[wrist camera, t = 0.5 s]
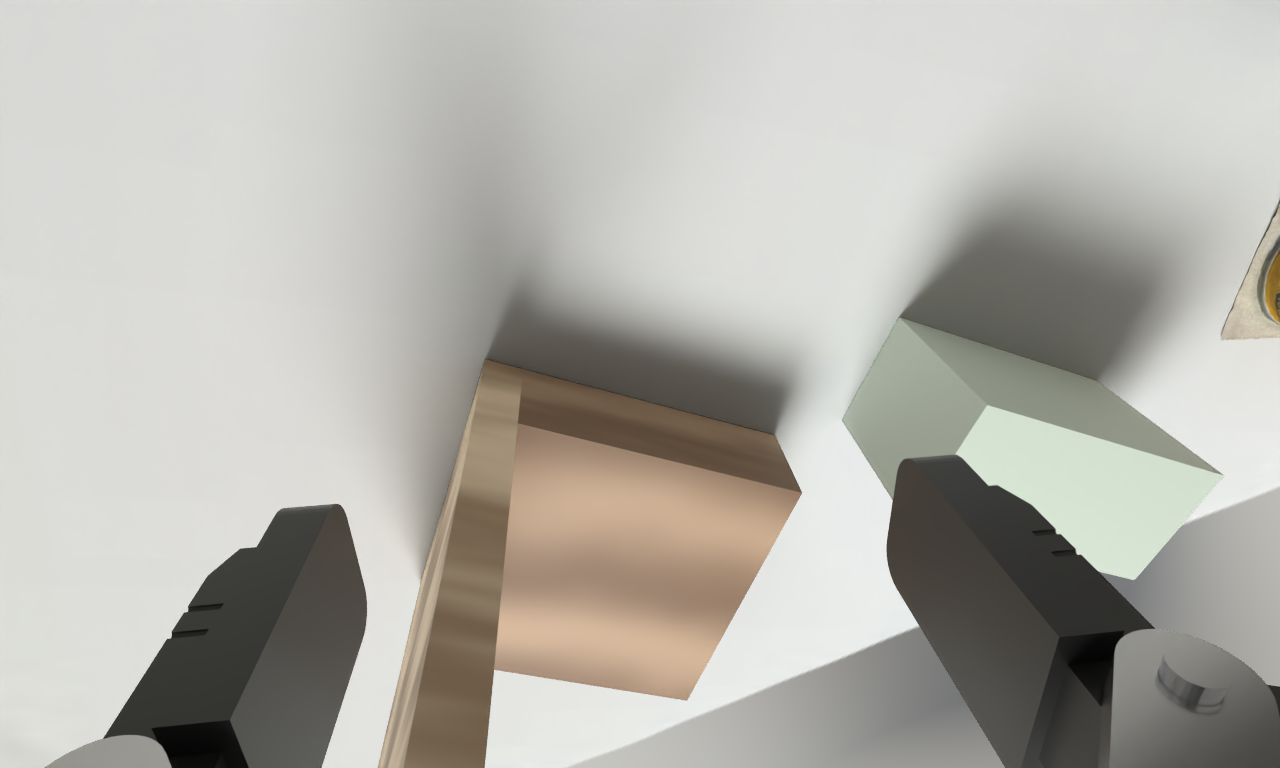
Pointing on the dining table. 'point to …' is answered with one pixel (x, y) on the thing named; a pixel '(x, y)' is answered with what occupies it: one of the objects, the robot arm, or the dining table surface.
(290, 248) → the dining table surface
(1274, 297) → the condiment
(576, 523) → the ledge
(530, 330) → the dining table surface
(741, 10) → the dining table surface
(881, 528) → the dining table surface
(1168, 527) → the mint green tall box
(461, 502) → the wall board
